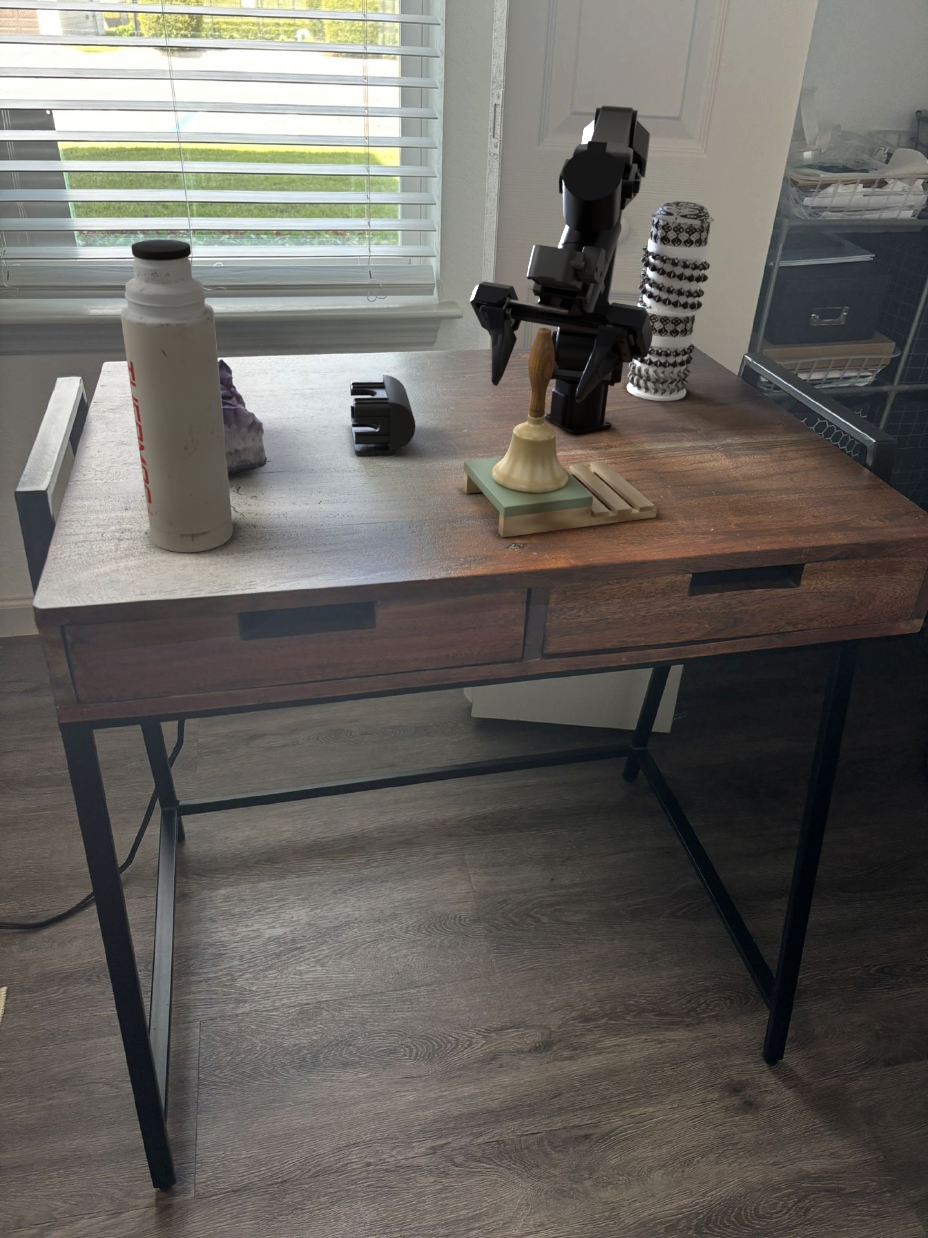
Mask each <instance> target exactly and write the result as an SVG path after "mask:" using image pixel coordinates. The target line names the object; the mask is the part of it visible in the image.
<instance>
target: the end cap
mask: <svg viewBox="0 0 928 1238" xmlns="http://www.w3.org/2000/svg"><path fill="white" fill-rule="evenodd" d="M349 384H350V396H351V397H353V398H352V403H353V404H350V421H351V426H350V428H351V435H352V442H353V449H354V454H355V455H356V456H358V457H376V456H377V457H379V456H380V457H383V456H385V457H386V456H387V457H388V456H391V455H394V454H397V452H399V451H401V450H402V449H404V448H405V447H406V446H407V445H409V443H410V442H411V441H412V440H413V437H414V436H415V432H416V427H417V426H416V420H415V417H414V413H413V409H412V407H411V403H410V399H409V397H408V392H407V389H406V388H405V386H404V384H403V383H402V382H401V380H399V379H398V378H396V377H394V376H391V375H388V374H382V381H351V382H350V383H349ZM354 396H356V397H354ZM358 396H359V397H358ZM362 396H364V397H362ZM366 396H370V397H366Z"/></svg>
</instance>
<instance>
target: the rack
mask: <svg viewBox="0 0 928 1238" xmlns="http://www.w3.org/2000/svg"><path fill="white" fill-rule="evenodd" d="M504 457H505V456H498V457H489V458H488V457H487V458H480V459H479V458H477V459H469V460H464V461H463V475H462V478H463V479H462V490H463V491H464V493H465V494H469V495H470V494H476V493H482V494H483V495H484V496H485V498H486V499H488V501H489V502H490V503H491V504H492V505H493V506H494V508H495V509H496V510H497V511H498V513H499V516H498V517H499V519H498V530H497V531H498V534H499V535H500V536H501V538H509V537H516V536H524V535H532V534H540V533H546V532H547V533H548V532H554V531H561V530H569V529H577V528H585V527H593V526H600V525H606V524H607V525H608V524H615V523H621V522H630V521H637V520H638V521H639V520H645V519H653V518H656V517H657V512H658V509H656V507H655V504H653V503H652V502H651V501H650V500H649V499H648V498H646V496H645V495H644V494H642V493H641V492H640V491H639V490H638V489H637V488H635V487H634V486H633V485H632V484H631V483H630V482H629V481H627V480H626V479H625V478H624V477H623V476H621V474H619V473H618V472H617V471H616V470H614V469H613V468H612V467H611V466H610V465H609V464H608V463H606V461H600V462H591V463H590V467H587V466H586V465H585V464H584V463H582V464H581V463H580V464H573V465H569V469H568V470H567V469H566V468H564V467H563V468H564V469H565V470H566V472H567V474H568V478H569V480H568V483H567V485H566V486H564V487H563V488H561V489H558V490H556V491H552V492H546V493H528V492H520V491H515V490H512V489H509V488H506V487H504V486H502V485H500V484H499V483H497V482H496V481H495V480H494V479H493V477H492V470H493V468H494V467H495V465H496V464H497V463H498V462H500V461H501V460H502V459H503V458H504ZM579 481H580V482H579ZM581 483H582V484H583V485H582V484H581ZM607 484H608V485H607ZM584 485H585V486H584ZM610 487H611V488H610ZM587 488H588V489H587ZM589 490H590V491H591V492H592V493H593V494H594V495H593V494H592V493H591V492H590V491H589ZM616 492H617V493H616ZM619 495H620V496H621V497H622V498H623V499H622V498H621V497H620V496H619ZM596 497H597V498H598V499H597V498H596ZM599 499H600V501H601V502H600V501H599ZM626 501H627V502H628V503H627V502H626ZM603 503H604V504H603ZM629 504H630V505H631V506H632V507H631V506H630V505H629ZM605 505H606V506H607V507H608V508H609V509H610V510H609V509H608V508H607V507H606V506H605Z"/></svg>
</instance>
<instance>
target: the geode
mask: <svg viewBox="0 0 928 1238" xmlns="http://www.w3.org/2000/svg"><path fill="white" fill-rule="evenodd" d="M218 367H219V378H220V390H221V401H222V412H223V424H224V440H225V457H226V465H227V472H228V475H230V474H235V473H240V472H243V471H250V470H251V471H253V470H256V469H260V468H262V467H265V465H267V462H268V458H267V456H266V452H265V445H264V442H263V441H264V440H263V436H264V433H265V431H264V427H263V425H264V424H263V422H262V421H261V420H260V419H259V418H258V417H257V416H256V415H255V413H254V412H251V411H249V410H248V409H247V408H246V402H245V400H244V398H243V396H242V394H241V393H240V392H239V391H238V390H237V387H236V386H235V385H234V381H233V379H234V377H233V370H232V369H231V367H230V366H229V365H228V363H226V362H225V361H224V360H223V358H221V359H219V360H218Z"/></svg>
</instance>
